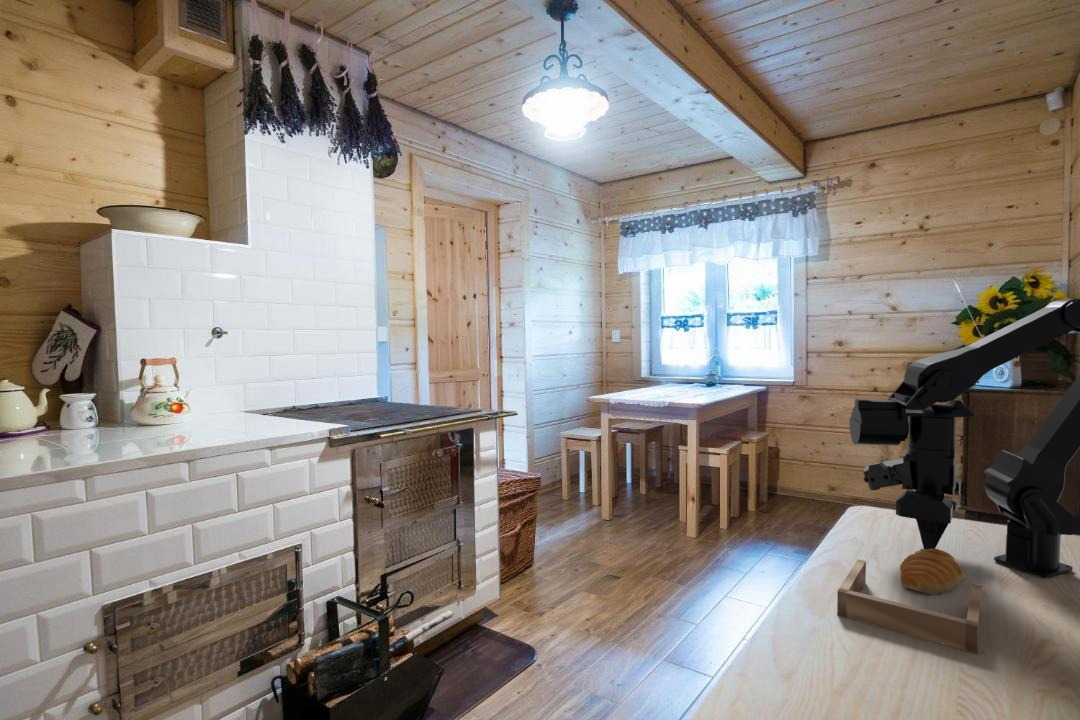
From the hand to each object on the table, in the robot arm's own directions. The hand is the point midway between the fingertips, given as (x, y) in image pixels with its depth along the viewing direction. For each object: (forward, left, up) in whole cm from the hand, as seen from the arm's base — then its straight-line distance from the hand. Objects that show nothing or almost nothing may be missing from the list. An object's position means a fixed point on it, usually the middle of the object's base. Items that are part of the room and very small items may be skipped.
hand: (928, 551), depth 85 cm
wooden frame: (+16, +9, -1) cm, 19 cm away
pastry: (+7, +5, -2) cm, 9 cm away
